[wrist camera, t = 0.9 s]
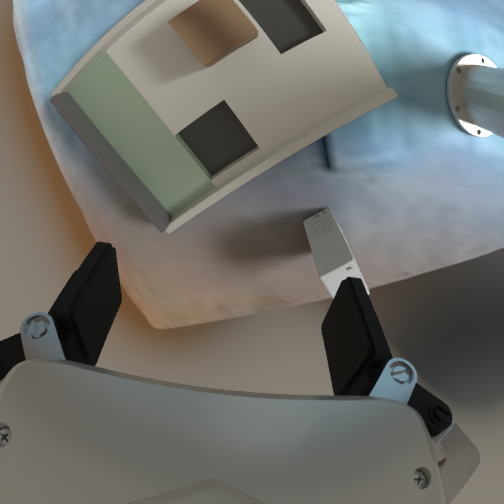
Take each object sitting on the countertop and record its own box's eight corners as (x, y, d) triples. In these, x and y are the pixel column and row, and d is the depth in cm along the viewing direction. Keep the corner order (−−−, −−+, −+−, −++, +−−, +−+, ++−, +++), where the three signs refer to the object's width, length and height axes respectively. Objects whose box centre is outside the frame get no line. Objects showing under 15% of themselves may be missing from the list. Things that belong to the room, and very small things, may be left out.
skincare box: (301, 220, 40) (317, 276, 30) (328, 206, 39) (354, 257, 29) (320, 252, 43) (338, 310, 33) (345, 238, 42) (371, 294, 32)
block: (225, -2, 23) (221, -14, 19) (257, 37, 26) (258, 31, 21) (179, 28, 25) (167, 22, 20) (210, 67, 27) (203, 65, 23)
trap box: (275, -61, 19) (279, -77, 15) (383, 93, 30) (402, 97, 26) (67, 90, 29) (46, 95, 25) (175, 219, 40) (166, 238, 36)
